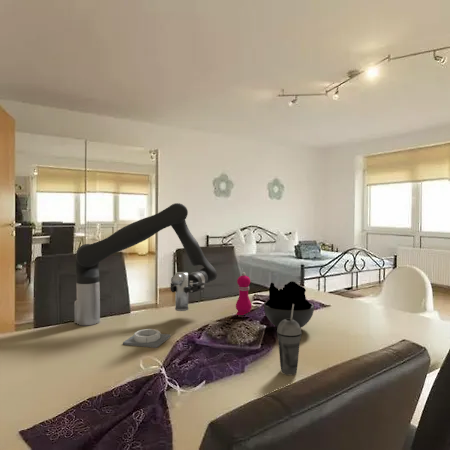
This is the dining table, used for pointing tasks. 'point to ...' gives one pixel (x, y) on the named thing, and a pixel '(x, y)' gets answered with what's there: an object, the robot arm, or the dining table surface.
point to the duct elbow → (181, 290)
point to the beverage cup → (289, 344)
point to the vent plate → (151, 344)
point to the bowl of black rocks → (288, 304)
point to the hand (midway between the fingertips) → (179, 289)
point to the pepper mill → (243, 295)
